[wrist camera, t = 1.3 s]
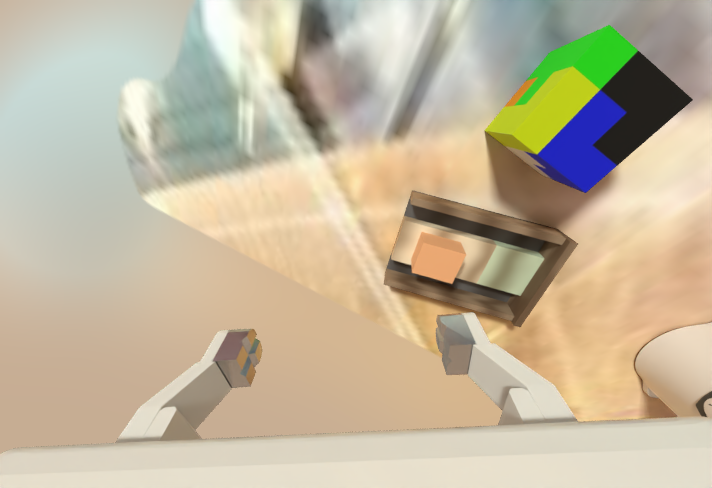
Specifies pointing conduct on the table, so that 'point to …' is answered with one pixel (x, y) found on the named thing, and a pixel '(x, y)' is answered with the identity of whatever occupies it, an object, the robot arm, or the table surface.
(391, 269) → the box
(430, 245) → the block
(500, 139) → the puzzle toy
